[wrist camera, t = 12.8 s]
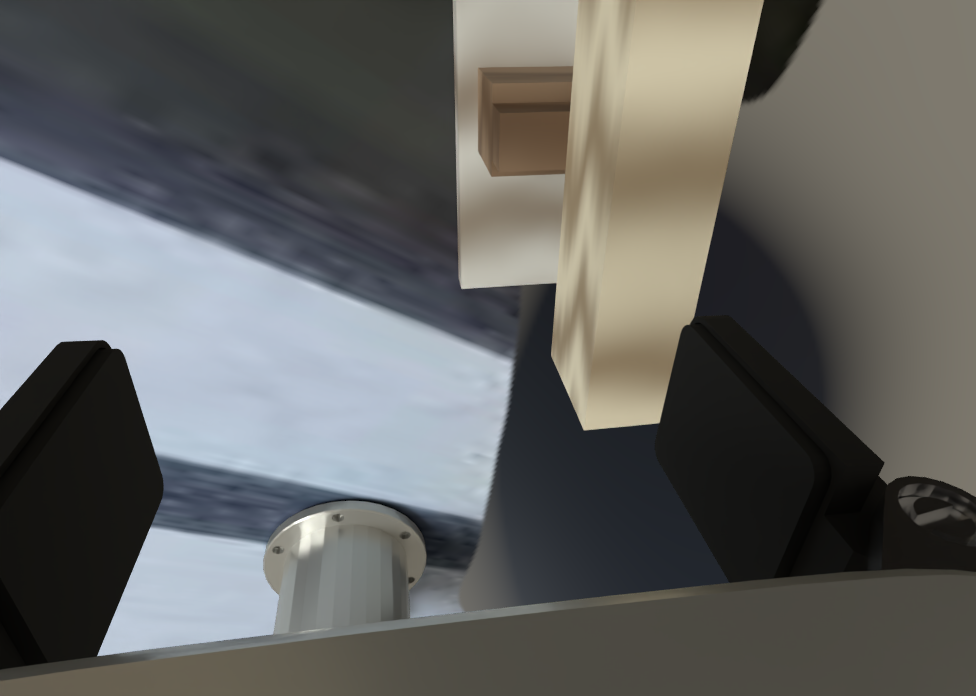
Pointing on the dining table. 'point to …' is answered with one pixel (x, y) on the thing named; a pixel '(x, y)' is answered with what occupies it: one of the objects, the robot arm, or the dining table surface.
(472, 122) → the stand
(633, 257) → the beige wooden bar
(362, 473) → the dining table surface
